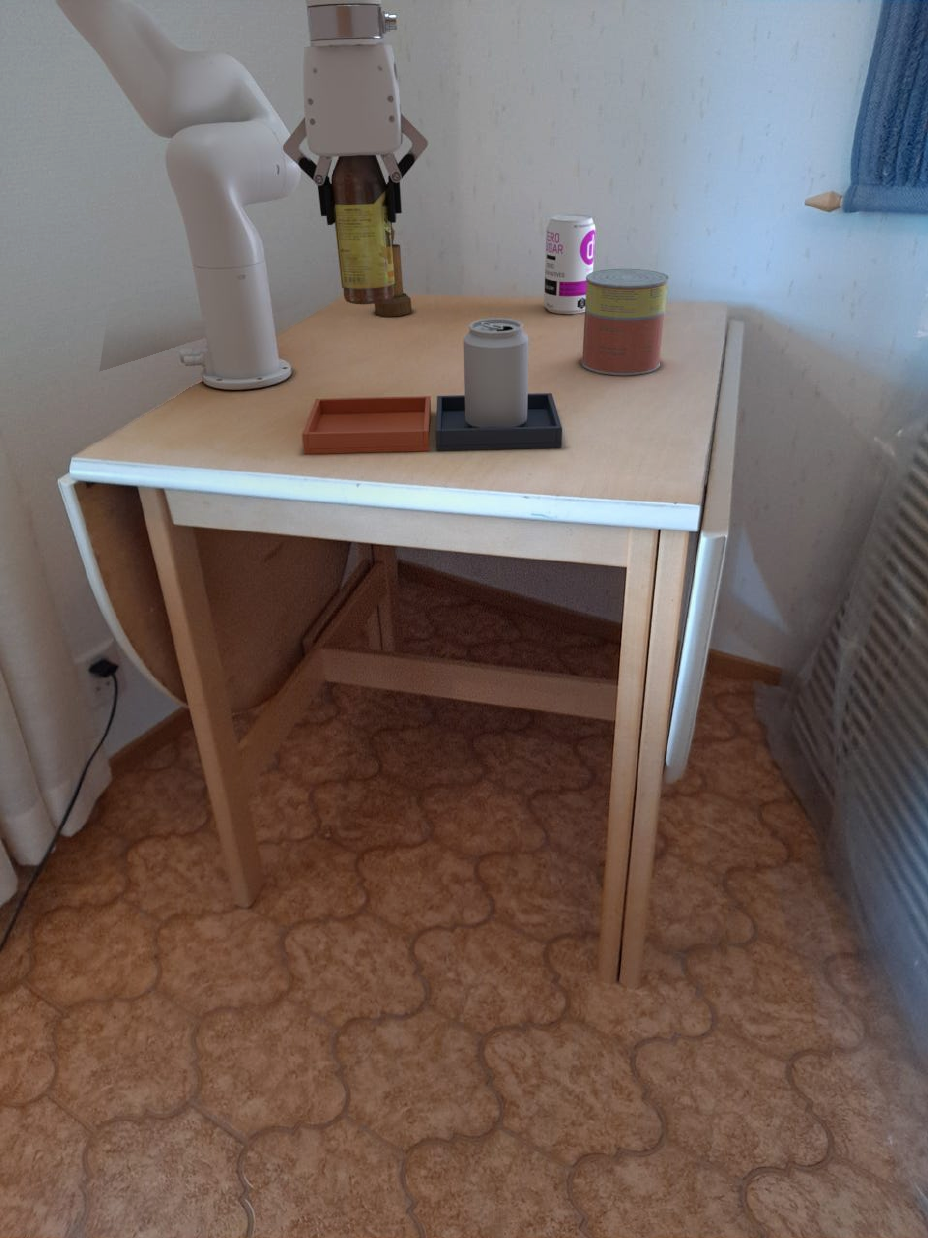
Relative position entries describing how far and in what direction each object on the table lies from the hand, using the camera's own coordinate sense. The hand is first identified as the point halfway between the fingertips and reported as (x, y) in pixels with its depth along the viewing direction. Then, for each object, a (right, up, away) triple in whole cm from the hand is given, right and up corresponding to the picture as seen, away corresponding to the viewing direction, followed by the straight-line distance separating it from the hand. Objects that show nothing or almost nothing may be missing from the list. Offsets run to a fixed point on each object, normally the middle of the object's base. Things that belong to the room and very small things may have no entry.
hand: (362, 220), depth 97 cm
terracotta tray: (0, -22, +7) cm, 24 cm away
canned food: (+34, -8, +29) cm, 45 cm away
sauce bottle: (0, -7, +5) cm, 9 cm away
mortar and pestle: (-1, +10, +57) cm, 58 cm away
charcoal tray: (+15, -22, +7) cm, 28 cm away
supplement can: (+30, +10, +56) cm, 65 cm away
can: (+15, -22, +7) cm, 27 cm away
